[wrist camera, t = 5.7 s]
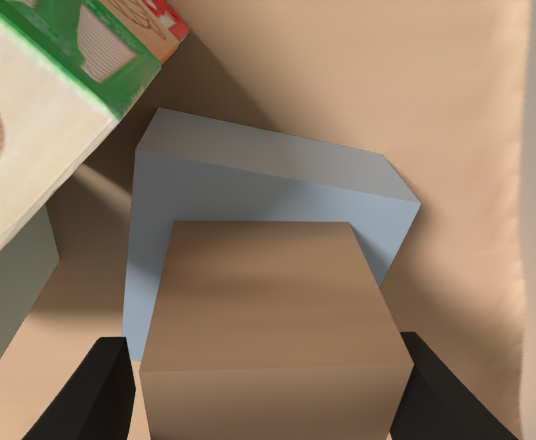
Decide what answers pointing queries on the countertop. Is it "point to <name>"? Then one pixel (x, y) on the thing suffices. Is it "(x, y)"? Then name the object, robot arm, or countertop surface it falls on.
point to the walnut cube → (270, 336)
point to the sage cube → (25, 273)
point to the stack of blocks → (69, 87)
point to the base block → (250, 196)
